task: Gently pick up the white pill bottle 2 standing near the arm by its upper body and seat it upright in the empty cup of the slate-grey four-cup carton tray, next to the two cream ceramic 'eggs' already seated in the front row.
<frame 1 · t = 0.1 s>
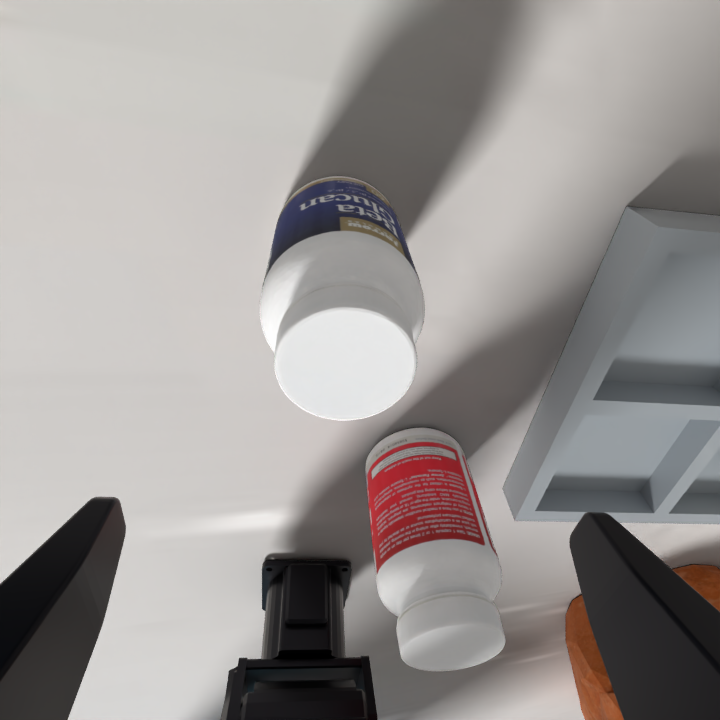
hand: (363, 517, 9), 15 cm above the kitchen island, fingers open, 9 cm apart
carton tray: (706, 385, 28), on the kitchen island
pill bottle 2: (413, 457, 30), on the kitchen island
bread: (641, 637, 48), on the kitchen island
pill bottle: (337, 233, 21), on the kitchen island
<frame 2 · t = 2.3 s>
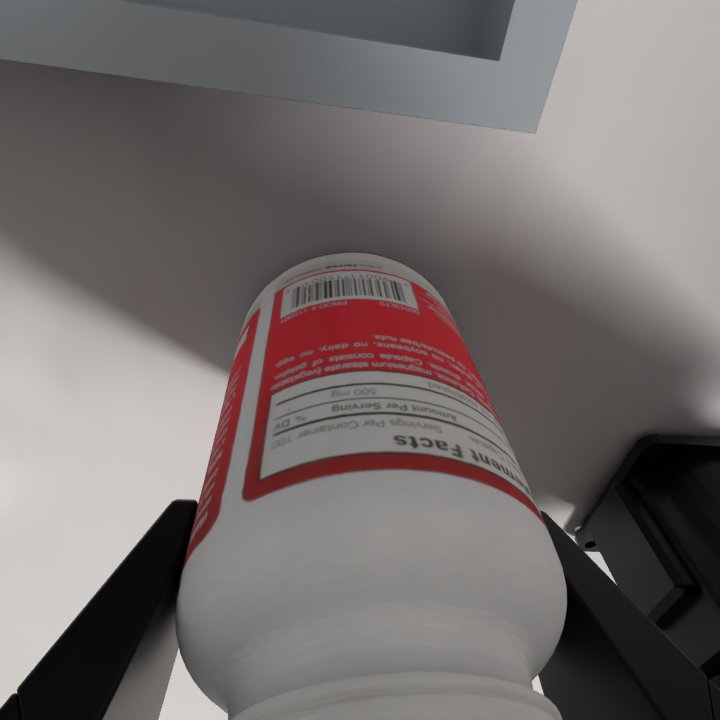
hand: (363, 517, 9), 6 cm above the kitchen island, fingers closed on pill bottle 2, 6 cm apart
pill bottle 2: (348, 339, 14), on the kitchen island, touching gripper
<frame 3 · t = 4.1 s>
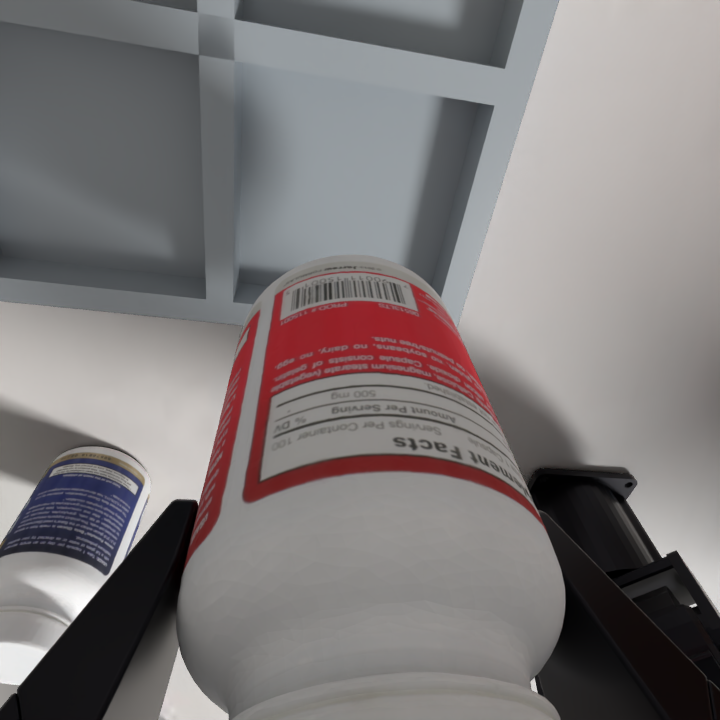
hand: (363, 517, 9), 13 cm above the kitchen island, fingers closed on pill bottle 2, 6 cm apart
carton tray: (230, 35, 16), on the kitchen island
pill bottle 2: (348, 340, 14), point 7 cm above the kitchen island, touching gripper
pill bottle: (104, 474, 27), on the kitchen island
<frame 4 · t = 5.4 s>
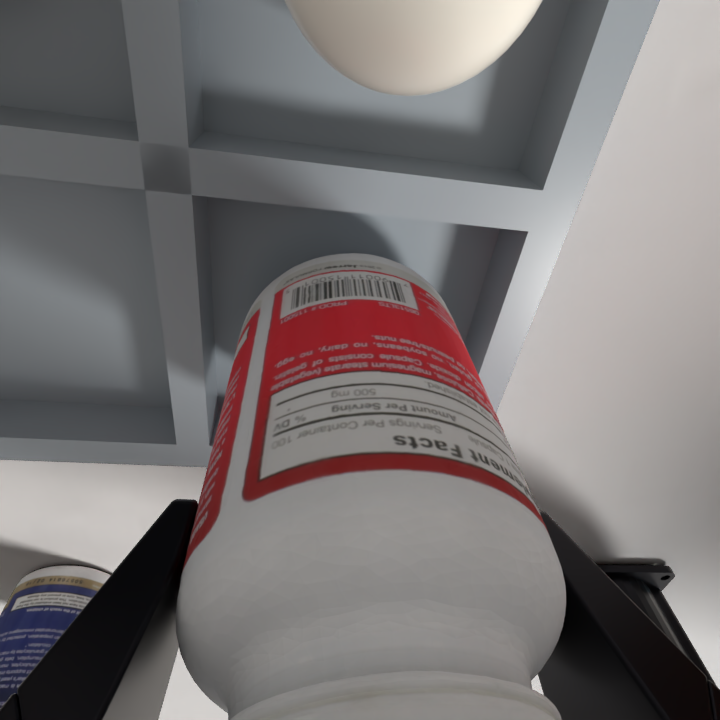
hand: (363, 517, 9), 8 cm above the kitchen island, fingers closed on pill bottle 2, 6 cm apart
carton tray: (191, 143, 12), on the kitchen island
pill bottle 2: (348, 340, 14), point 2 cm above the kitchen island, touching gripper
pill bottle: (79, 587, 24), on the kitchen island
when the fingers open (8 cm above the kitchen island, at t = 6.1 s): pill bottle 2 drops 1 cm, resting on carton tray.
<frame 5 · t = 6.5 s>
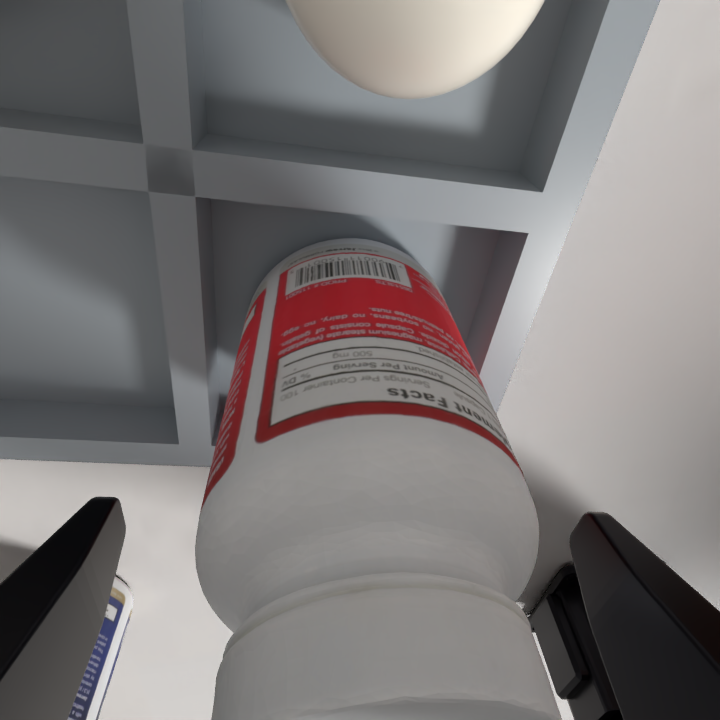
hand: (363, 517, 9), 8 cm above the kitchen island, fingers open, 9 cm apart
carton tray: (194, 145, 13), on the kitchen island
pill bottle 2: (347, 321, 15), point 1 cm above the kitchen island, touching carton tray
pill bottle: (81, 587, 24), on the kitchen island
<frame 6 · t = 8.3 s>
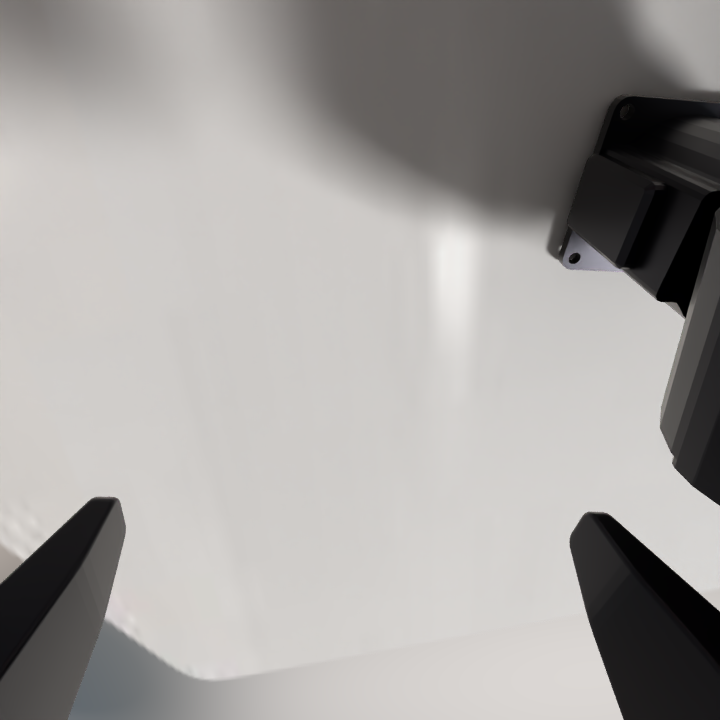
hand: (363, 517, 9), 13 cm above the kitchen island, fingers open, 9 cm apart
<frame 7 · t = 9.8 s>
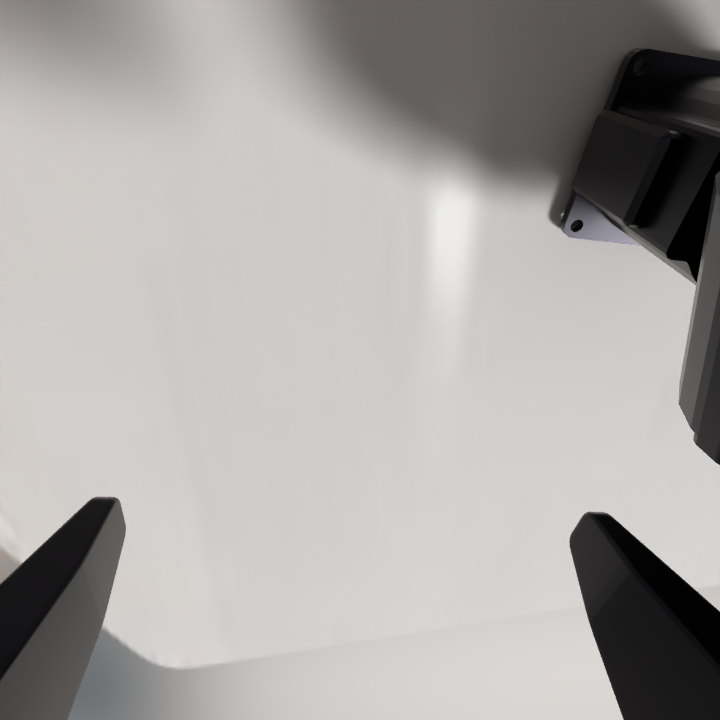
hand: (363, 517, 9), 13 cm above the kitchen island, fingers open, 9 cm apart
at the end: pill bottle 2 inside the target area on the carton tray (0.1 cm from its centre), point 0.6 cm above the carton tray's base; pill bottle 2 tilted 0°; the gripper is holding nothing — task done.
